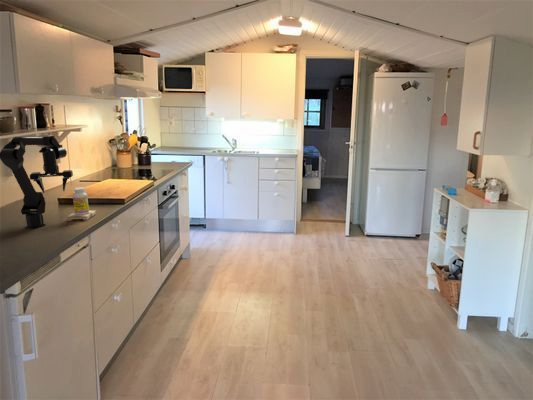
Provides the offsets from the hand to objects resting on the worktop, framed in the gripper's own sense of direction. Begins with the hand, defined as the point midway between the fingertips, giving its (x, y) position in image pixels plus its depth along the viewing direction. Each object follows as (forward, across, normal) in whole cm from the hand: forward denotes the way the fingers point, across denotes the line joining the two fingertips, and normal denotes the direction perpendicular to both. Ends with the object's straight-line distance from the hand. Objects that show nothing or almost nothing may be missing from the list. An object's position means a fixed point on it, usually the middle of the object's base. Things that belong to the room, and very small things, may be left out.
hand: (54, 191), depth 219 cm
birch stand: (+13, -12, +5) cm, 19 cm away
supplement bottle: (+11, -12, +5) cm, 18 cm away
